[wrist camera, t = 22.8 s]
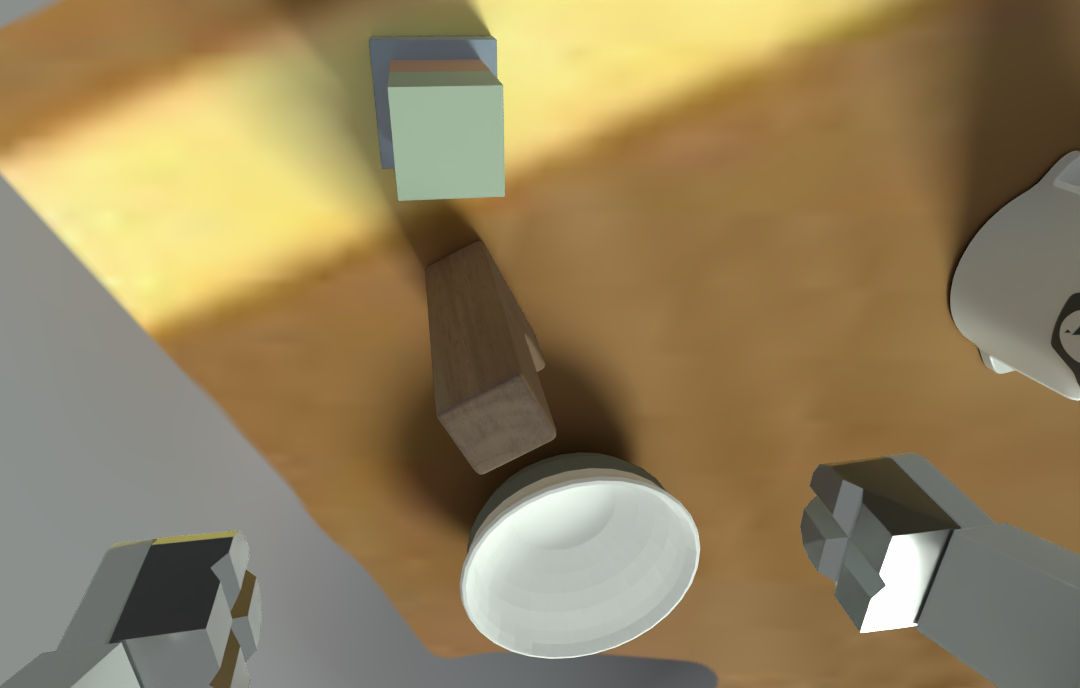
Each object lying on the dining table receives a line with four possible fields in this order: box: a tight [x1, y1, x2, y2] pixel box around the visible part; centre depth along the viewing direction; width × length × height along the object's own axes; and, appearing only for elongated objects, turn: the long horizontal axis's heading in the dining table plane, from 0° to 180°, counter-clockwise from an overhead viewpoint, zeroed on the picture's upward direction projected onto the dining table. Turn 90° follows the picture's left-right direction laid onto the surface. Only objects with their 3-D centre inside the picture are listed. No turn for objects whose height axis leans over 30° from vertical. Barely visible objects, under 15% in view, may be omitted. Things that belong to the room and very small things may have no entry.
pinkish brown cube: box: [389, 59, 490, 72], centre depth 38 cm, size 5×5×5 cm
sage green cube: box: [388, 71, 505, 201], centre depth 33 cm, size 5×5×5 cm
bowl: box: [460, 452, 700, 659], centre depth 56 cm, size 19×19×8 cm
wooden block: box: [425, 241, 556, 474], centre depth 41 cm, size 9×4×18 cm, turn 25°
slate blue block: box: [369, 36, 497, 169], centre depth 41 cm, size 7×7×2 cm
